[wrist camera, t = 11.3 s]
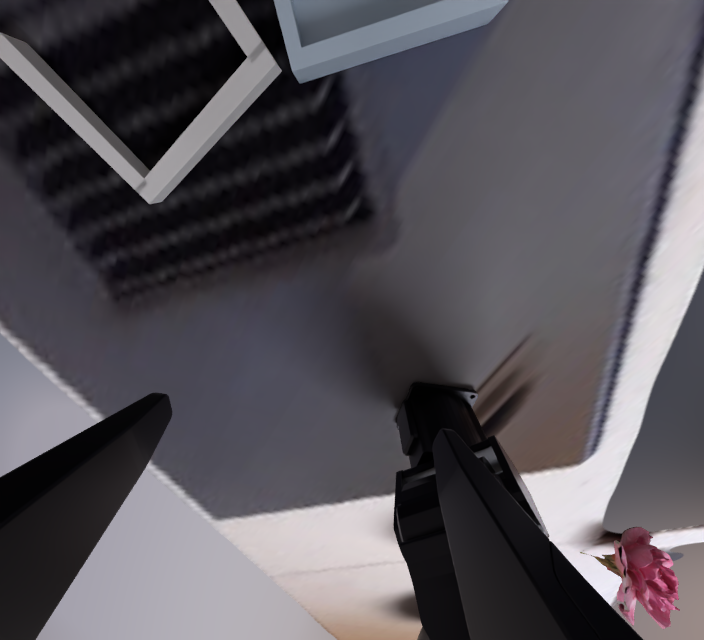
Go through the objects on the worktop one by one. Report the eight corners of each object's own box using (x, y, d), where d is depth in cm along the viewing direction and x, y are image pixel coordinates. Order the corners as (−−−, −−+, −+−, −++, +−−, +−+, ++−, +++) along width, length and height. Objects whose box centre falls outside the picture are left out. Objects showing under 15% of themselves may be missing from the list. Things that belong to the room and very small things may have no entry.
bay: (281, 71, 14) (276, 63, 13) (161, 202, 17) (149, 204, 16) (134, -159, 11) (110, -194, 10) (18, 58, 14) (-9, 49, 13)
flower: (619, 497, 41) (720, 565, 34) (595, 522, 47) (678, 584, 39) (588, 555, 36) (698, 648, 29) (566, 575, 42) (653, 657, 35)
